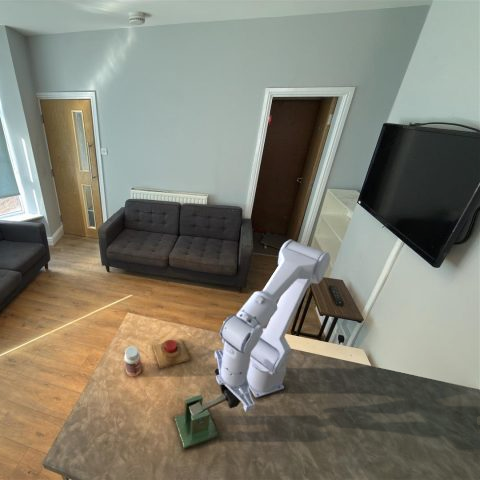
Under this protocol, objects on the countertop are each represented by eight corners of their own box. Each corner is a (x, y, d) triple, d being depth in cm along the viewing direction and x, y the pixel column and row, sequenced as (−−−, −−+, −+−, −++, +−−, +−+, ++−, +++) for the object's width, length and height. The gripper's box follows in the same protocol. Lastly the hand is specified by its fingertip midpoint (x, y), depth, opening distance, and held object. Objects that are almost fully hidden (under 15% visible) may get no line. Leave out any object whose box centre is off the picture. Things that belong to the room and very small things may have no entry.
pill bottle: (138, 377, 79) (137, 359, 76) (124, 375, 80) (121, 356, 76) (142, 364, 84) (141, 346, 80) (128, 361, 84) (126, 343, 81)
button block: (180, 340, 91) (181, 334, 90) (189, 360, 84) (189, 353, 83) (153, 348, 89) (153, 341, 88) (159, 368, 82) (159, 361, 81)
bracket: (205, 409, 71) (207, 387, 67) (217, 436, 65) (221, 415, 61) (174, 419, 69) (174, 398, 64) (184, 449, 63) (184, 428, 58)
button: (174, 342, 87) (174, 339, 87) (178, 351, 84) (178, 347, 84) (164, 345, 87) (164, 341, 86) (167, 354, 84) (167, 350, 83)
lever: (233, 389, 67) (231, 382, 65) (239, 401, 64) (238, 394, 62) (190, 410, 65) (187, 403, 64) (195, 423, 63) (192, 417, 61)
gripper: (205, 341, 64) (202, 377, 70) (236, 398, 52) (229, 435, 58) (230, 334, 66) (225, 370, 72) (267, 388, 53) (257, 425, 60)
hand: (229, 398), depth 65 cm, fingers closed on lever, 3 cm apart
